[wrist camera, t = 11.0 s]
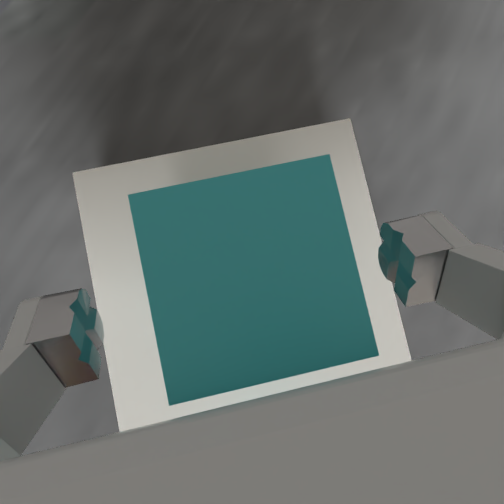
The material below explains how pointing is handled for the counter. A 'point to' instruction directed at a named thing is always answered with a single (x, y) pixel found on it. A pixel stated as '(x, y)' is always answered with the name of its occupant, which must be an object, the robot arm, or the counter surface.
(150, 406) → the port
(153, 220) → the plug
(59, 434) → the counter surface
